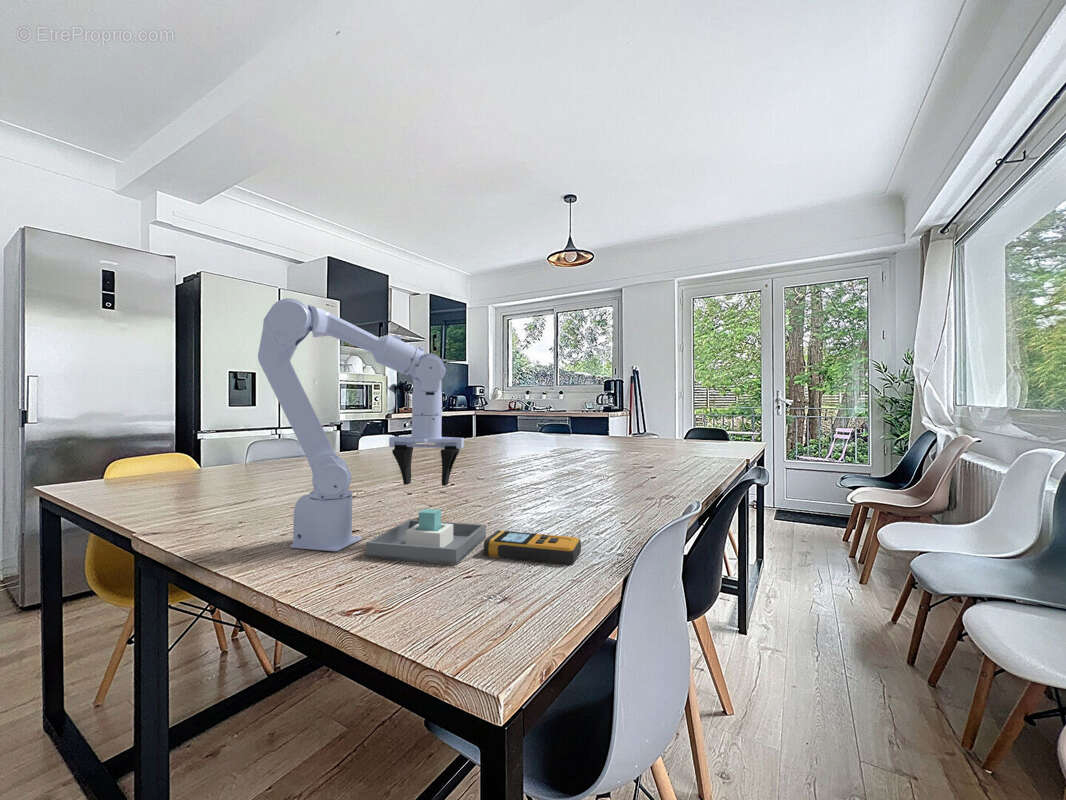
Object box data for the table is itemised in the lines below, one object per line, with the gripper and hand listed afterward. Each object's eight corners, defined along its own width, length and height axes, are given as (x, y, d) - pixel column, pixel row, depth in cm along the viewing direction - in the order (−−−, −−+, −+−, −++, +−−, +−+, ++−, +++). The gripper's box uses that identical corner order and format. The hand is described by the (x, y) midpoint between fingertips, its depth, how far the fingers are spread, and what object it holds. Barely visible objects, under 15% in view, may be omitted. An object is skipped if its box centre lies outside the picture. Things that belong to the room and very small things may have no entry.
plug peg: (418, 546, 87) (418, 512, 87) (425, 541, 90) (425, 508, 90) (434, 547, 86) (434, 513, 86) (440, 542, 89) (441, 509, 89)
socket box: (365, 557, 82) (366, 536, 82) (408, 532, 97) (409, 514, 97) (456, 565, 78) (456, 543, 78) (485, 537, 94) (485, 519, 94)
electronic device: (572, 570, 79) (573, 549, 79) (482, 559, 83) (482, 539, 83) (582, 554, 87) (582, 535, 87) (499, 544, 91) (499, 526, 91)
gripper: (382, 415, 92) (382, 486, 92) (457, 416, 91) (456, 489, 91) (397, 414, 99) (396, 480, 99) (466, 415, 98) (466, 482, 98)
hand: (426, 484), depth 95 cm, fingers open, 7 cm apart
